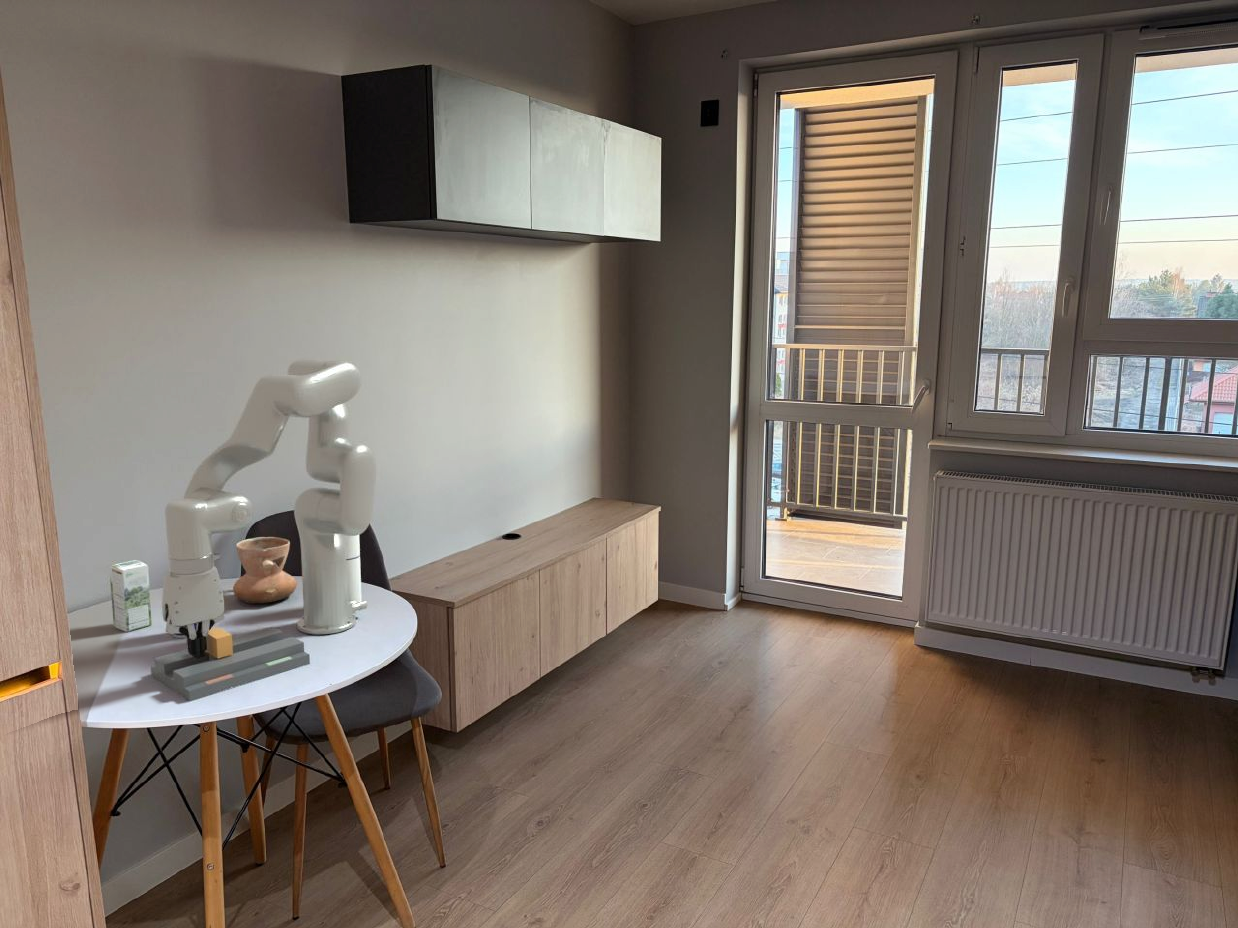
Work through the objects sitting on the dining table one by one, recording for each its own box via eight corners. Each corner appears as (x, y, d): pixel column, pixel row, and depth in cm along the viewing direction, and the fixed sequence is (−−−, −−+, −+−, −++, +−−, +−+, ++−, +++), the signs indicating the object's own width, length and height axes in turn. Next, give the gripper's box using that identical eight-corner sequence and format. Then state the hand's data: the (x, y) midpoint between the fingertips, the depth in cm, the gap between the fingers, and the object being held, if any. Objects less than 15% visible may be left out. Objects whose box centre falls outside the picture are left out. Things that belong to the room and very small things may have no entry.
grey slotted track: (268, 641, 193) (267, 624, 193) (309, 663, 182) (308, 644, 182) (151, 674, 176) (149, 655, 175) (189, 701, 165) (188, 680, 164)
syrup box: (139, 620, 205) (134, 558, 202) (153, 625, 202) (148, 563, 199) (113, 627, 200) (108, 564, 198) (127, 633, 197) (121, 569, 194)
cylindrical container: (344, 613, 211) (340, 509, 207) (324, 607, 215) (319, 505, 211) (368, 605, 217) (364, 504, 213) (347, 599, 221) (343, 500, 217)
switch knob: (219, 655, 180) (217, 627, 179) (233, 663, 176) (231, 634, 175) (204, 659, 178) (202, 630, 176) (218, 668, 174) (216, 638, 173)
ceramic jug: (301, 604, 217) (299, 547, 215) (237, 612, 210) (234, 553, 208) (291, 584, 233) (288, 531, 231) (230, 591, 226) (227, 536, 224)
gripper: (221, 552, 178) (227, 640, 181) (141, 568, 167) (149, 661, 170) (239, 559, 173) (244, 650, 176) (158, 576, 162) (166, 672, 165)
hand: (198, 655), depth 173 cm, fingers closed
